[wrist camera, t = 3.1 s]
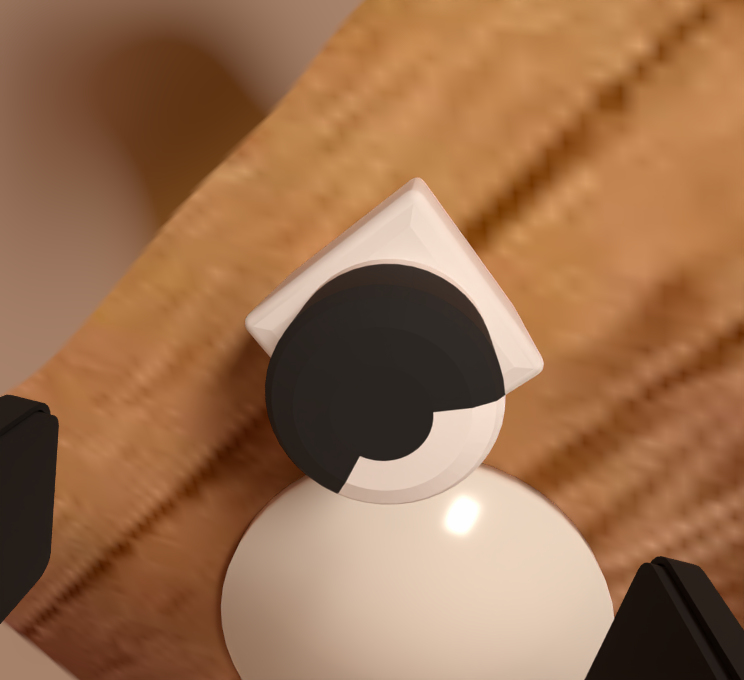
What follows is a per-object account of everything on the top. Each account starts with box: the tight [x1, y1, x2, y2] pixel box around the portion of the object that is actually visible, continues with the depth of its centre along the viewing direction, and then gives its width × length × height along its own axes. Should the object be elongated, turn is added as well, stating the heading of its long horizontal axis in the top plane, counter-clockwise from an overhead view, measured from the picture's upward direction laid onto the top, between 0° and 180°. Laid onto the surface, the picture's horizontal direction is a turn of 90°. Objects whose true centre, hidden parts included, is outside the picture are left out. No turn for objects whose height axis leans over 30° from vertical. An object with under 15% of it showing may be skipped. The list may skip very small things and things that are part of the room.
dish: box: [221, 463, 614, 680], centre depth 30 cm, size 20×20×1 cm
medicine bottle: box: [245, 178, 544, 504], centre depth 19 cm, size 7×7×12 cm
